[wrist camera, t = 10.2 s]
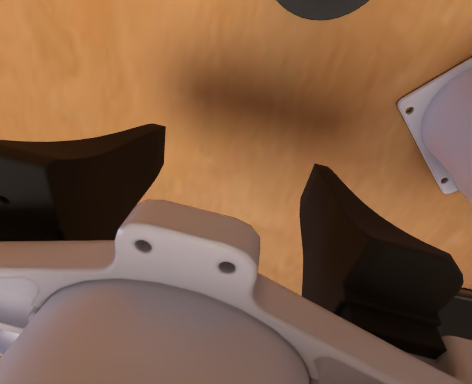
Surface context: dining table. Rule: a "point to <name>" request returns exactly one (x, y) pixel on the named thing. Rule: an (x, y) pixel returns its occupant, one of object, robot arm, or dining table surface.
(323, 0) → the coaster
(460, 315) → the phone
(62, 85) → the dining table surface
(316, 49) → the dining table surface
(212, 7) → the dining table surface
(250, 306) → the robot arm
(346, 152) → the dining table surface
